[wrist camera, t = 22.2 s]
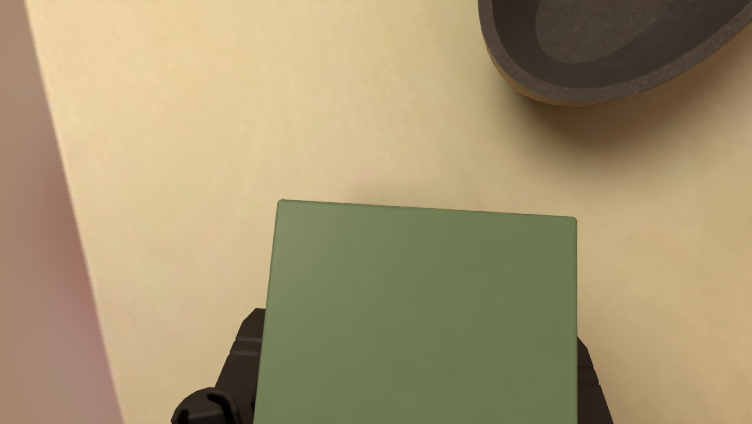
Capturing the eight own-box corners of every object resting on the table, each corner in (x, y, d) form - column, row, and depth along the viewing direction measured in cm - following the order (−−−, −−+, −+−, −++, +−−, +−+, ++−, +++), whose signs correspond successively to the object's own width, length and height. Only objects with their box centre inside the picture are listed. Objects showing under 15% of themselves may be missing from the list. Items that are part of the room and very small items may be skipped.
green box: (332, 462, 17) (215, 754, 6) (349, 251, 18) (277, 197, 8) (465, 475, 17) (580, 809, 6) (473, 260, 18) (578, 216, 7)
